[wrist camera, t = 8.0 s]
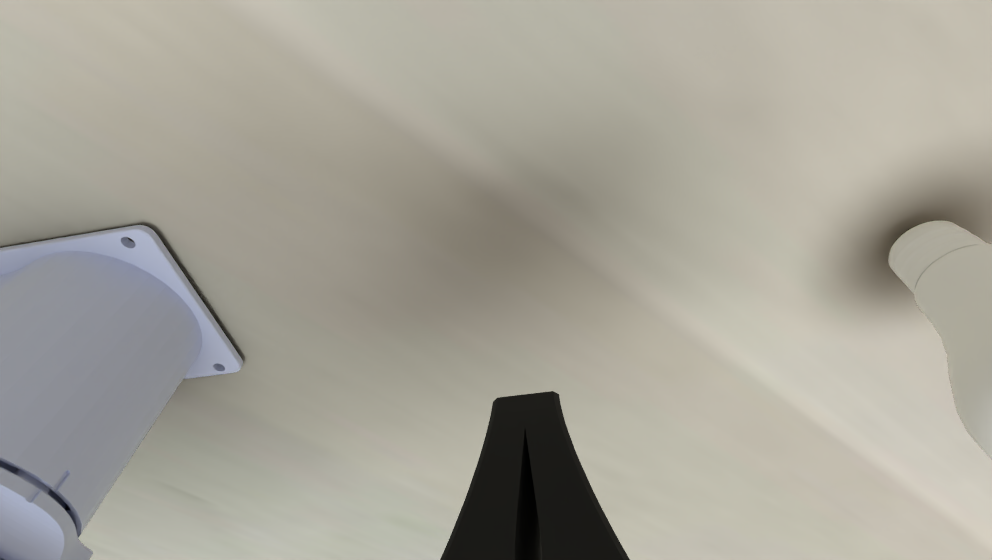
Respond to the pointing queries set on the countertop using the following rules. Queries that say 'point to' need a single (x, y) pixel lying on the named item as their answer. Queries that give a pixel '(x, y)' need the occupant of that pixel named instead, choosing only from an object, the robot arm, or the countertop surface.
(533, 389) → the countertop surface
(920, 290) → the lightbulb
